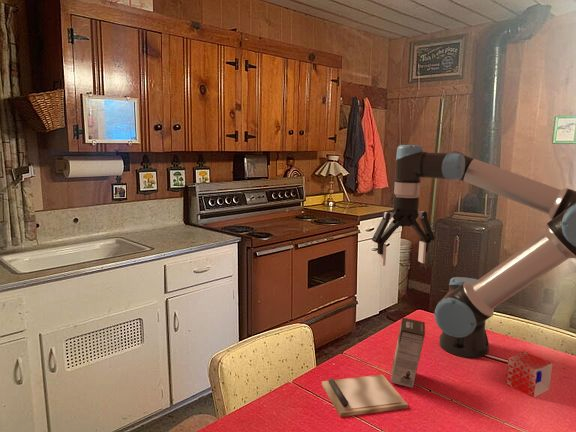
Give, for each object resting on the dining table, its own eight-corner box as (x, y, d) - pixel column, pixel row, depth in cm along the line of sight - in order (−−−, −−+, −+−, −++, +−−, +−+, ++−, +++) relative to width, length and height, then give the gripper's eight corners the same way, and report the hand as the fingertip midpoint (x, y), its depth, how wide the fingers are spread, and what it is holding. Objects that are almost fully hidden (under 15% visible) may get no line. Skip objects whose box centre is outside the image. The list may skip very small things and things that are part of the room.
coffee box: (391, 366, 134) (401, 316, 131) (413, 372, 133) (424, 321, 129) (390, 382, 125) (401, 329, 122) (413, 389, 124) (425, 335, 121)
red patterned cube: (521, 376, 131) (524, 351, 130) (549, 389, 125) (552, 362, 124) (505, 384, 127) (508, 358, 126) (533, 398, 121) (536, 370, 119)
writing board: (382, 377, 129) (382, 368, 129) (407, 408, 115) (408, 397, 115) (321, 384, 125) (322, 375, 125) (340, 417, 111) (340, 406, 110)
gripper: (435, 193, 146) (430, 258, 149) (363, 194, 139) (360, 262, 143) (449, 197, 139) (443, 264, 142) (374, 198, 132) (370, 268, 136)
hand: (401, 263), depth 143 cm, fingers open, 13 cm apart
